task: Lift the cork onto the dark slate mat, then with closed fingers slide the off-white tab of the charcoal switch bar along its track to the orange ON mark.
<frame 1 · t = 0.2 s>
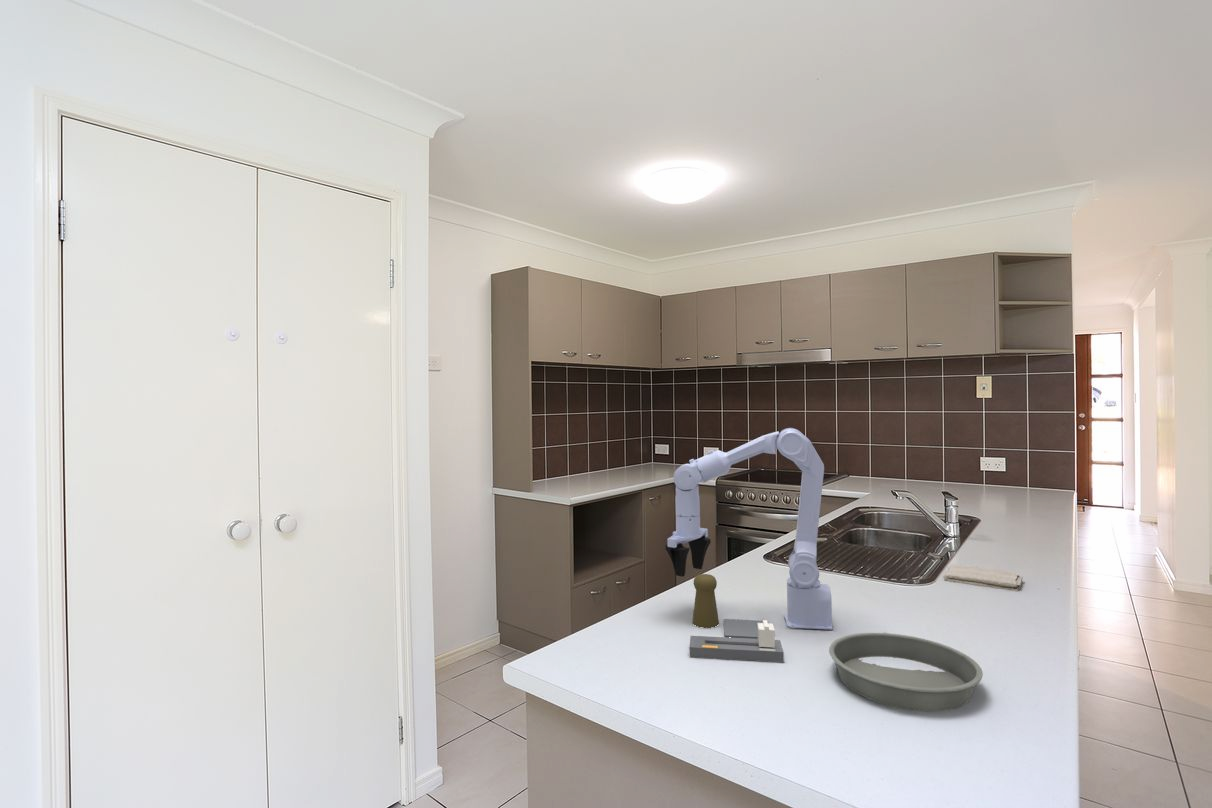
hand: (689, 572, 144), 10 cm above the counter, tool pointing down, fingers open, 7 cm apart
cork: (705, 624, 139), on the counter
slate mat: (746, 630, 134), on the counter
switch bar: (735, 653, 122), on the counter
washcloth: (982, 583, 167), on the counter
cake pan: (902, 683, 109), on the counter
switch tab: (765, 633, 121), point 4 cm above the counter, slide at 0.0 cm
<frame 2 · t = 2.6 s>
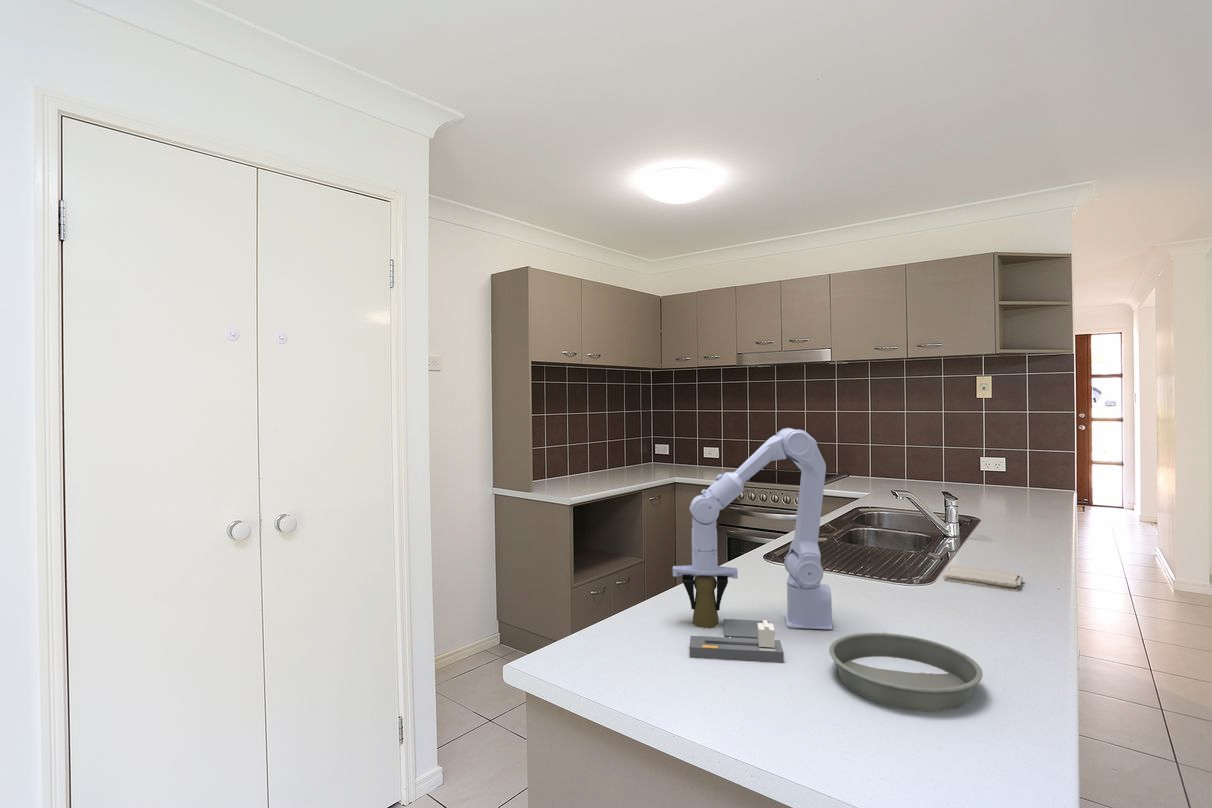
hand: (705, 608, 139), 3 cm above the counter, tool pointing down, fingers closed on cork, 5 cm apart
cork: (705, 624, 139), on the counter, touching gripper
everything else where it was.
when the fingers open (5 cm above the counter, at t = 6.2 s): cork stays where it is, resting on slate mat.
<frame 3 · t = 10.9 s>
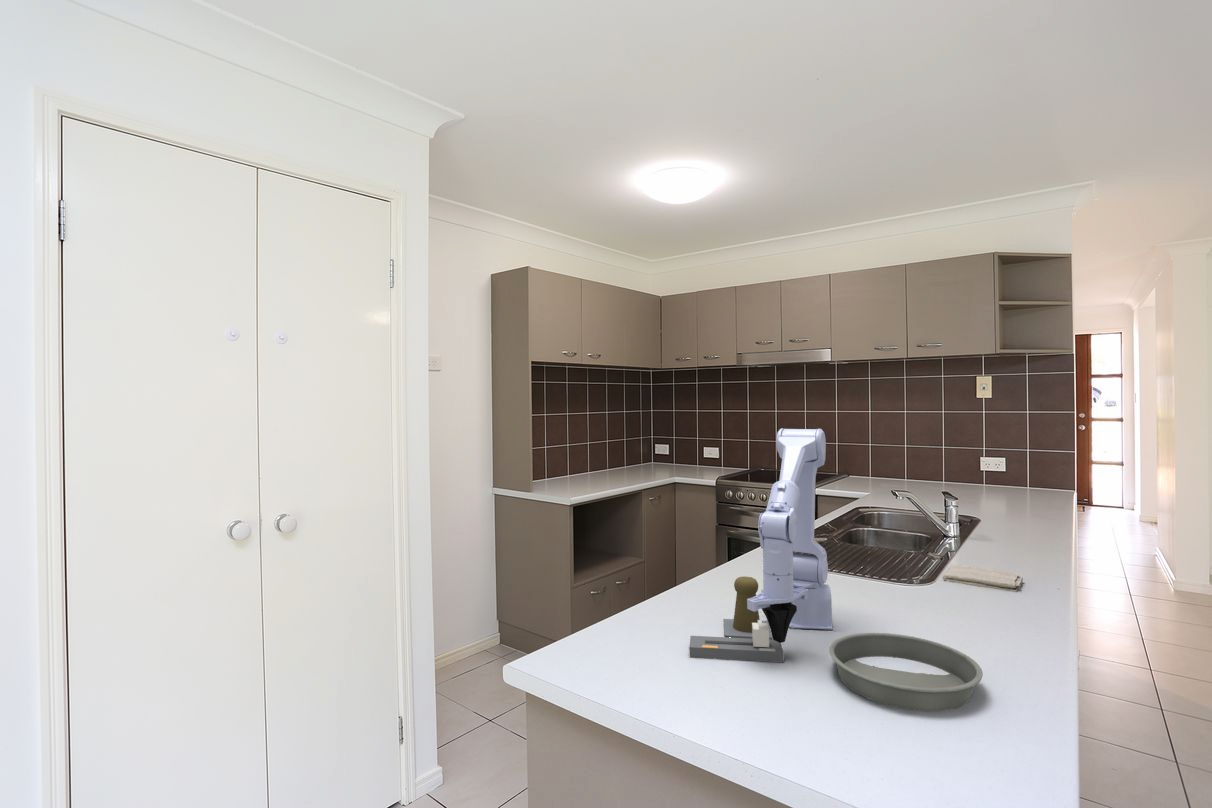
hand: (779, 640, 120), 3 cm above the counter, tool pointing down, fingers closed
cork: (746, 628, 134), resting on slate mat
switch tab: (760, 633, 121), point 4 cm above the counter, slide at 1.1 cm, touching gripper
everything else where it was.
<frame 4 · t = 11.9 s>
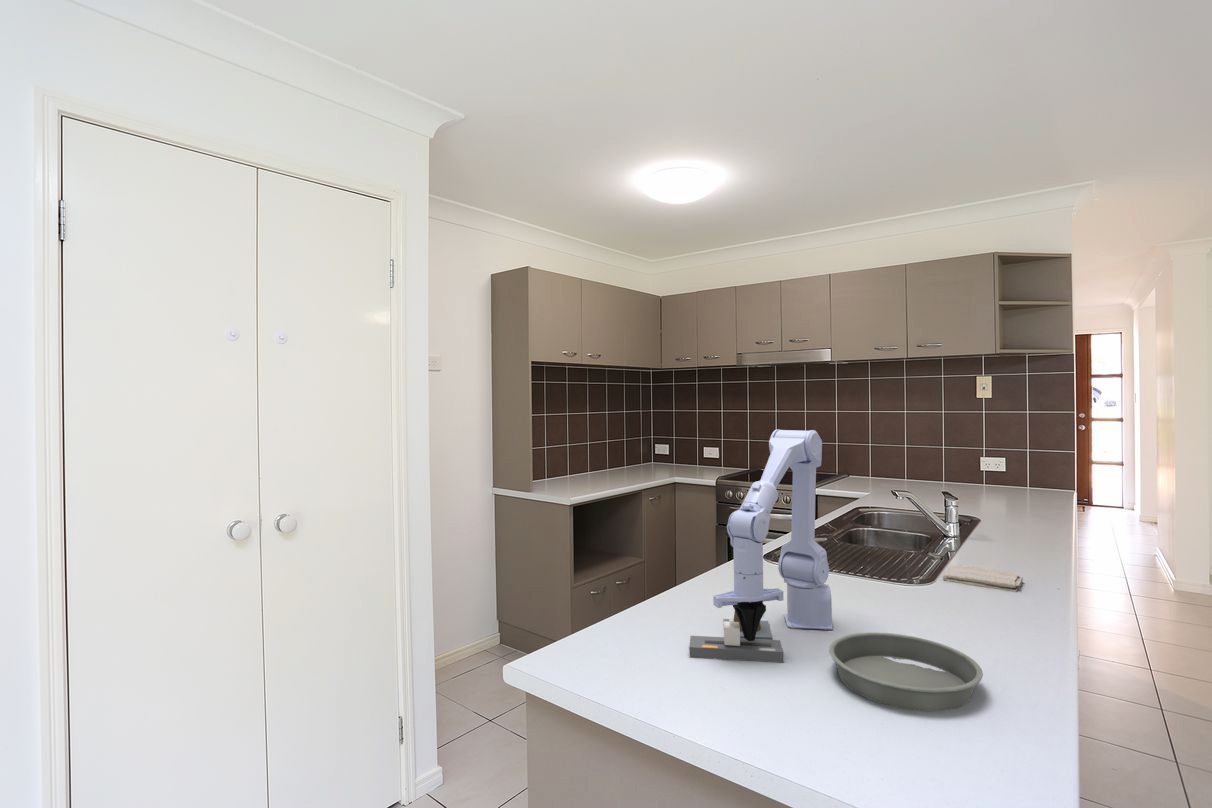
hand: (749, 639, 121), 3 cm above the counter, tool pointing down, fingers closed
switch tab: (731, 631, 122), point 4 cm above the counter, slide at 6.7 cm, touching gripper
everything else where it was.
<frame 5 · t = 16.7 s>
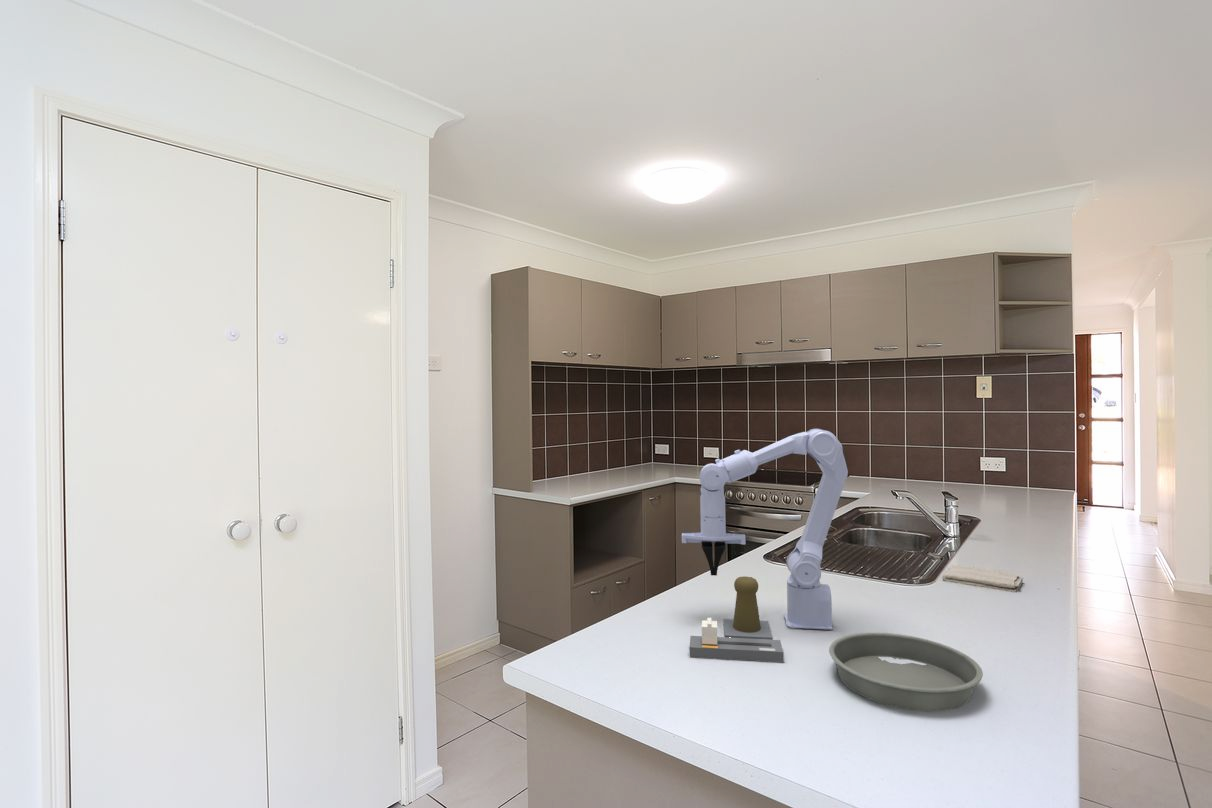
hand: (713, 574, 141), 10 cm above the counter, tool pointing down, fingers closed
switch tab: (709, 630, 123), point 4 cm above the counter, slide at 11.1 cm
everything else where it was.
at the end: switch tab slide at 11.1 cm; cork 0.2 cm off-centre on the slate mat, point 0.3 cm above the slate mat's base; cork tilted 0° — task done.
